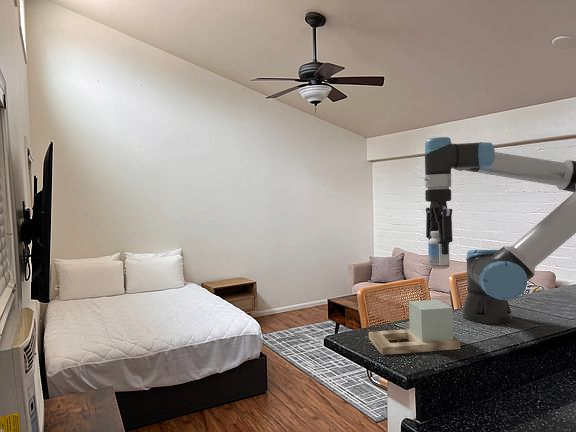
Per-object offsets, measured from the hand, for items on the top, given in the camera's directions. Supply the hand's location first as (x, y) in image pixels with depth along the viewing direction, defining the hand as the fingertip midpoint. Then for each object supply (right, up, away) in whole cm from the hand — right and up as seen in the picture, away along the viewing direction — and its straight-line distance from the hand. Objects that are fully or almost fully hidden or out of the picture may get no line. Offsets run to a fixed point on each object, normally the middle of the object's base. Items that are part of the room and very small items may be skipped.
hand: (438, 262), depth 130 cm
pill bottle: (0, -2, 0) cm, 2 cm away
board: (-11, -22, -10) cm, 27 cm away
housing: (-6, -20, -9) cm, 23 cm away
